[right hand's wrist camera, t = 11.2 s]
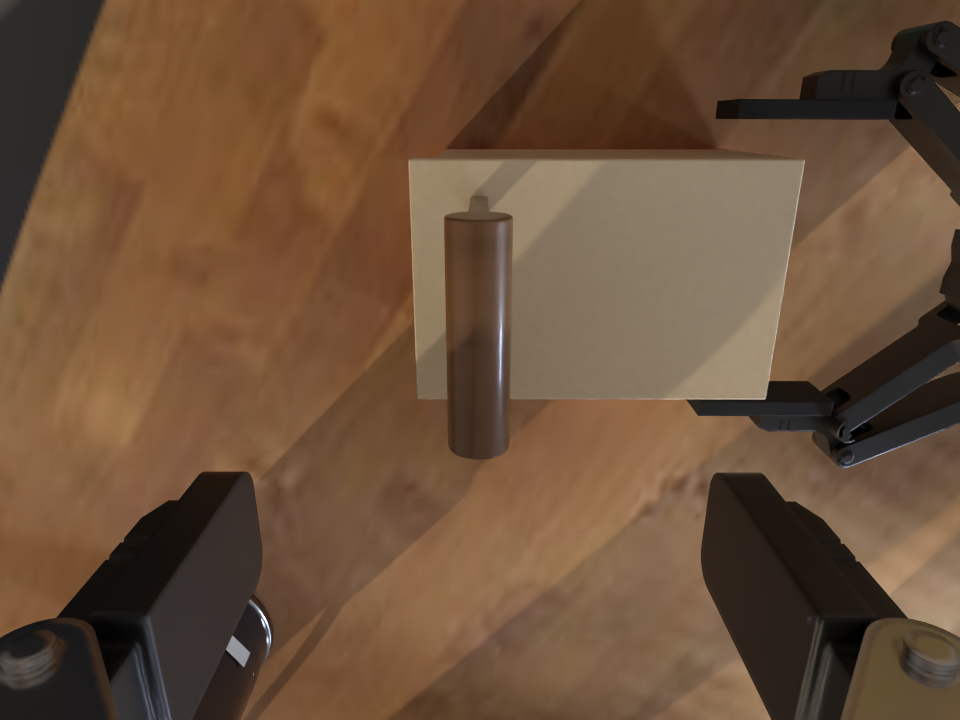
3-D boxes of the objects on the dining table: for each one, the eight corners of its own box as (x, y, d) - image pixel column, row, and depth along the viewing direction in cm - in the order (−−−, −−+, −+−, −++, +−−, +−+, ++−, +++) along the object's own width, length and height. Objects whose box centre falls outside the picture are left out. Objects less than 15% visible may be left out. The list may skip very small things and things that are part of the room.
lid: (418, 390, 30) (395, 494, 22) (411, 157, 27) (378, 174, 18) (756, 390, 30) (863, 494, 22) (793, 157, 27) (937, 174, 18)
